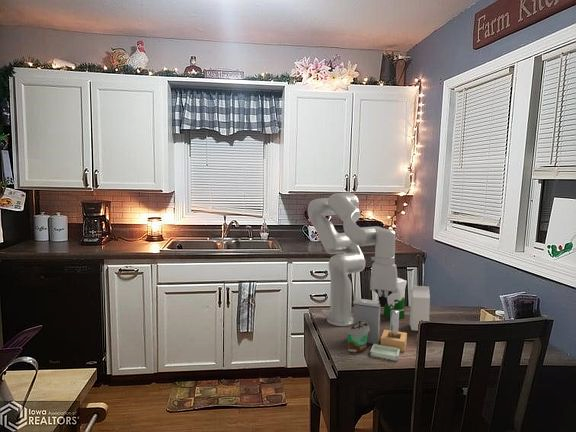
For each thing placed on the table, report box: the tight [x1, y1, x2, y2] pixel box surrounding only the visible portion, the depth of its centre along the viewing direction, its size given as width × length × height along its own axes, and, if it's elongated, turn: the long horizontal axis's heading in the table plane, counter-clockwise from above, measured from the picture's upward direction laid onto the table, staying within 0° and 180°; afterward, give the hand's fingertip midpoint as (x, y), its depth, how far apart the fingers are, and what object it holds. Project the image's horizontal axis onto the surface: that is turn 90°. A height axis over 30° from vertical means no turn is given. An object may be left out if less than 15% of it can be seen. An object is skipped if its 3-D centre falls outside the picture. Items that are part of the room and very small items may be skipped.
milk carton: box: [409, 285, 431, 332], centre depth 169 cm, size 7×7×19 cm
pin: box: [389, 310, 400, 339], centre depth 152 cm, size 3×3×14 cm
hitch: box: [352, 304, 408, 353], centre depth 154 cm, size 20×9×15 cm, turn 67°
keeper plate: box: [352, 297, 381, 307], centre depth 156 cm, size 10×4×1 cm, turn 67°
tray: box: [369, 344, 401, 362], centre depth 145 cm, size 10×7×2 cm
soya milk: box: [382, 277, 408, 320], centre depth 183 cm, size 9×9×20 cm
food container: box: [346, 319, 370, 354], centre depth 148 cm, size 12×6×10 cm, turn 148°
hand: (383, 305), depth 153 cm, fingers closed
